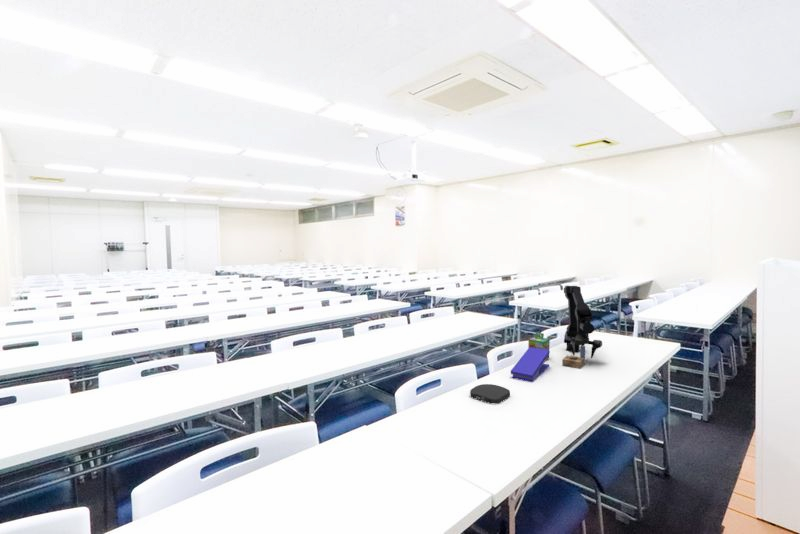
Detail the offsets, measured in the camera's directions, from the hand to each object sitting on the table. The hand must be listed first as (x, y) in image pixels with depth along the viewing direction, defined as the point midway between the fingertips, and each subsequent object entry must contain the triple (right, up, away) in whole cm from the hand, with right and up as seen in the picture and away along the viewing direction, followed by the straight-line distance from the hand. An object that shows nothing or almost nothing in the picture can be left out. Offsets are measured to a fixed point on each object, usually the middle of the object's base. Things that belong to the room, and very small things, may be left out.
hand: (582, 356), depth 216 cm
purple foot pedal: (-34, -5, -16) cm, 38 cm away
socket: (-8, -3, -7) cm, 11 cm away
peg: (0, -2, 0) cm, 2 cm away
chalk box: (-23, -3, +5) cm, 23 cm away
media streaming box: (-62, -7, -45) cm, 77 cm away
